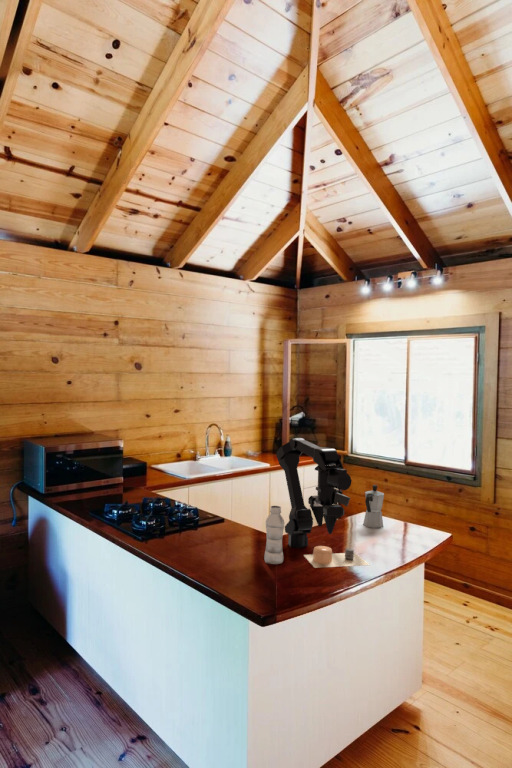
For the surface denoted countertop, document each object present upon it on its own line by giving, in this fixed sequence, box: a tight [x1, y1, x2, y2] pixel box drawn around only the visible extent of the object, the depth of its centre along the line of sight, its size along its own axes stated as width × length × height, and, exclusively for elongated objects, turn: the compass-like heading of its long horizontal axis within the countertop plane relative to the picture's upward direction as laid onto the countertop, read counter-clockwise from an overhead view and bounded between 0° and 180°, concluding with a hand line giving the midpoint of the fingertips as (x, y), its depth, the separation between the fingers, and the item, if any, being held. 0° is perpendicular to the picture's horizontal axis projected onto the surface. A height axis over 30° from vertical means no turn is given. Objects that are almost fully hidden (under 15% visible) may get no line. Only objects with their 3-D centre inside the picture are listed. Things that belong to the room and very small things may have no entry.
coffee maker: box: [363, 484, 385, 529], centre depth 223 cm, size 15×9×18 cm, turn 144°
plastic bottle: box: [263, 505, 285, 565], centre depth 172 cm, size 6×7×20 cm
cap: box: [312, 545, 333, 564], centre depth 174 cm, size 6×6×4 cm
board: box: [303, 548, 370, 569], centre depth 175 cm, size 20×12×5 cm, turn 103°
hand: (324, 530), depth 174 cm, fingers open, 9 cm apart
